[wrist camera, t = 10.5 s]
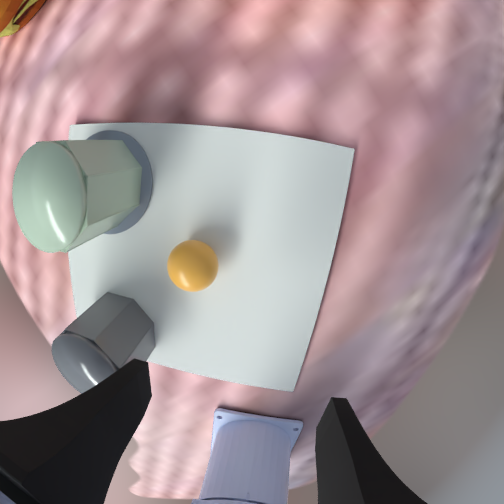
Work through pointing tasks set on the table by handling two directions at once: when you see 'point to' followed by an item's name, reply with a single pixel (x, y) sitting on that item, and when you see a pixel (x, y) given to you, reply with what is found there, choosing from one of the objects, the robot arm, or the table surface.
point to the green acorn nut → (74, 191)
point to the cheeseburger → (16, 14)
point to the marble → (192, 265)
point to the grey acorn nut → (103, 341)
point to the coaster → (145, 178)
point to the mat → (225, 247)
